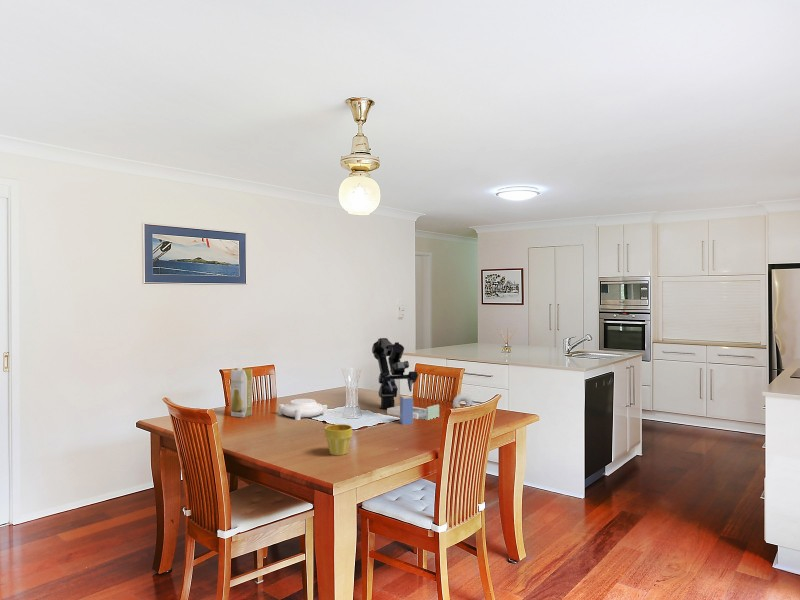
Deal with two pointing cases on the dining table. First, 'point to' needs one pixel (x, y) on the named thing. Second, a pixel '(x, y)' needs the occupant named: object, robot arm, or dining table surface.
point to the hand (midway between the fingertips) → (401, 391)
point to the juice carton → (241, 392)
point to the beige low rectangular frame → (397, 411)
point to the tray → (428, 412)
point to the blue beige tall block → (406, 410)
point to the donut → (462, 398)
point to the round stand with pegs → (302, 408)
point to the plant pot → (338, 438)
